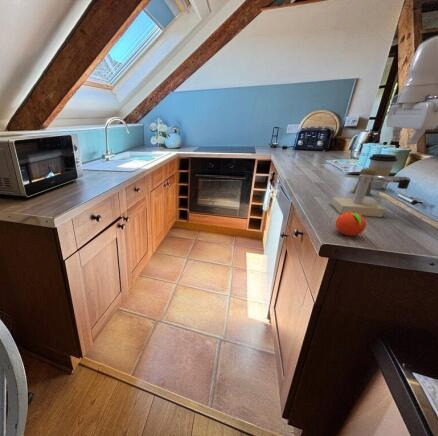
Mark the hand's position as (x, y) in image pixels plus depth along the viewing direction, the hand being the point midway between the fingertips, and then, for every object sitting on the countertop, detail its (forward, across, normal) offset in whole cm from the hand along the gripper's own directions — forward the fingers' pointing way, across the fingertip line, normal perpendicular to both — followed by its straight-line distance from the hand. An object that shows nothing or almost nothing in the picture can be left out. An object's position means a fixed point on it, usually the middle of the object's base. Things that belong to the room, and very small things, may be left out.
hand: (402, 142), depth 81 cm
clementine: (+24, -28, +19) cm, 41 cm away
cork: (+24, +21, -2) cm, 32 cm away
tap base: (+24, -4, +9) cm, 25 cm away
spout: (+14, -4, +3) cm, 15 cm away
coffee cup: (+24, +33, -11) cm, 43 cm away
